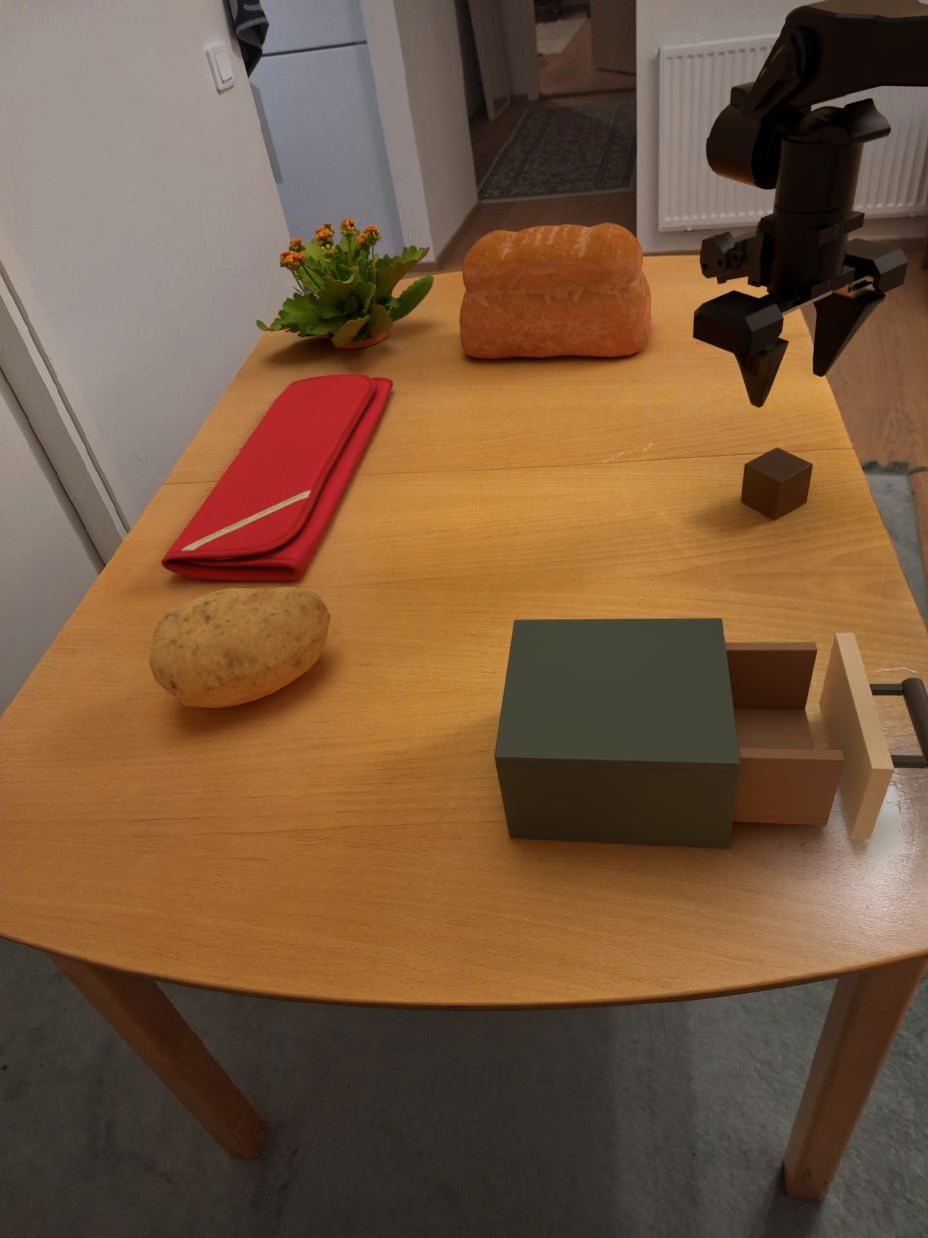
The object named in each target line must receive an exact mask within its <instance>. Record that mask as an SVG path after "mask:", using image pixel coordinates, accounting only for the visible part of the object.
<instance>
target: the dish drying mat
mask: <svg viewBox="0 0 928 1238" xmlns="http://www.w3.org/2000/svg"><path fill="white" fill-rule="evenodd" d="M393 388H394V382H393V379H391V378H388V377H383V376H381V377H380V376H378V377H377V376H375V377H371V376H369V375H366V374H363V373H338V374H336V373H335V374H326V375H318V376H313V377H308V378H303V379H300V380H296V381H293V382H291V383H290V384H288V385H287V386H286V387H285V388H284V389H283V391H282V392H281V393H280V394H279V395H278V396H277V397H276V398H275V399H274V401H273V402H272V403H271V405H270V407H269V408H268V409H267V411H266V413H265V414H264V416H263V417H262V418H261V420H260V421H259V423H258V424H257V426H256V427H255V428H254V430H253V431H252V433H250V435H249V437H248V438H247V440H246V441H245V443H244V444H243V445H242V447H241V448H240V450H239V452H238V453H237V455H236V456H235V457H234V459H233V460H232V462H231V463H230V464H229V466H228V467H227V468H226V470H225V471H224V473H223V475H221V477H220V479H219V480H218V481H217V483H216V484H215V486H214V487H213V488H212V490H211V491H210V493H209V494H208V495H207V497H206V498H205V500H204V501H203V503H202V504H201V505H200V507H199V508H198V509H197V511H196V512H195V513H194V515H193V516H192V518H191V519H190V520H189V522H188V523H187V524H186V526H185V527H184V529H183V530H182V531H181V532H180V534H179V536H178V537H177V538H176V540H175V541H174V542H173V543H172V545H171V547H170V548H169V549H168V550H167V552H166V554H165V555H164V556H163V558H162V559H161V560H160V564H161V565H162V567H163V568H165V569H166V570H168V571H170V572H172V573H173V574H178V575H182V576H183V577H184V576H185V577H189V578H193V579H200V580H208V581H209V580H210V581H243V582H244V581H250V582H251V581H253V582H254V581H255V582H256V581H259V582H260V581H261V582H263V581H264V582H288V583H289V582H296V581H298V580H299V579H300V578H301V576H302V575H303V573H304V572H305V570H306V568H307V566H308V564H309V563H310V560H311V558H312V556H313V555H314V553H315V552H316V550H317V548H318V545H319V544H320V542H321V540H322V539H323V536H325V533H326V531H327V529H328V527H329V525H330V523H331V522H332V519H333V517H334V515H335V513H336V511H337V509H338V507H339V505H340V503H341V501H342V499H343V497H344V495H345V493H346V490H347V489H348V486H349V484H350V482H351V479H352V477H353V475H354V473H355V472H356V469H357V467H358V466H359V463H360V462H361V460H362V457H363V455H364V453H365V451H366V449H367V447H368V445H369V443H370V441H371V439H372V436H373V435H374V432H375V430H376V427H377V426H378V423H379V422H380V420H381V417H382V416H383V413H384V410H385V407H386V405H387V402H388V399H389V397H390V394H391V392H392V389H393Z"/></svg>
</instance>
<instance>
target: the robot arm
mask: <svg viewBox="0 0 928 1238" xmlns="http://www.w3.org/2000/svg"><path fill="white" fill-rule="evenodd" d="M880 87H903V88H904V87H909V88H911V87H912V88H913V87H914V88H928V3H923V2H921V1H920V0H821V1H816V2H812V3H809V4H804V5H800V6H797V7H794V8H793V9H792V10H791V11H789V13H787V14H786V17H785V19H784V24H783V25H782V27H781V29H780V32H779V36H778V37H777V39H776V40H775V42H774V44H773V46H772V47H771V50H770V52H769V54H768V55H767V57H766V59H765V61H764V63H763V65H762V67H761V69H760V71H759V73H758V74H757V77H756V79H755V80H754V81H750V82H746V83H742V84H738V85H733V86H732V87H731V89H730V96H729V103H728V104H727V106H725V107H724V108H723V109H722V110H721V112H719V114H718V116H717V117H716V118H715V120H714V122H713V124H712V126H711V128H710V132H709V135H708V137H707V138H706V142H705V156H706V157H705V158H706V161H707V165H708V166H709V168H710V169H711V171H712V172H713V173H714V174H716V175H717V176H720V177H723V178H725V179H728V180H732V181H735V182H738V183H742V184H745V185H749V186H750V187H755V188H757V189H762V190H765V191H768V190H769V191H772V190H775V192H774V201H773V207H772V208H773V210H772V213H769V214H767V215H765V216H762V217H760V220H759V221H758V223H757V224H756V229H754V230H751V231H748V232H745V233H742V234H739V235H737V236H733V235H732V232H730V231H725V232H722V233H720V234H719V233H716V234H714V235H711V236H708V237H706V238H703V239H702V240H701V246H700V252H699V265H700V270H701V275H702V276H704V278H705V279H707V280H708V279H712V278H716V284H717V285H723V284H726V283H727V282H728V281H732V280H736V279H737V280H738V279H744V278H747V283H746V284H747V285H748V286H751V287H755V288H761V287H764V288H766V294H765V295H763V296H760V297H757V296H755V295H751V294H747V293H744V292H741V291H738V290H735V289H734V290H731V291H729V292H726V293H724V294H721V295H719V296H716V297H714V298H712V299H709V300H707V301H705V302H703V303H701V304H700V305H699V306H698V307H697V308H696V309H695V310H694V311H693V324H692V325H693V326H692V338H693V339H694V340H695V339H696V340H697V341H700V342H704V343H706V344H708V345H710V346H713V347H715V348H718V349H720V350H722V351H723V350H724V351H726V352H727V353H731V354H733V355H734V357H735V360H736V362H737V364H738V367H739V371H740V374H741V377H742V380H743V383H744V386H745V390H746V393H747V396H748V400H749V403H750V404H751V406H753V407H756V408H759V409H760V408H762V407H763V406H764V405H765V404H766V401H767V399H768V397H769V395H770V392H771V390H772V388H773V385H774V383H775V379H776V377H777V374H778V371H779V369H780V366H781V364H782V361H783V359H784V356H785V354H786V351H787V348H788V346H789V344H790V341H789V340H787V339H784V338H781V337H780V335H782V333H783V329H784V321H785V318H784V316H786V315H789V314H790V313H793V312H795V311H797V310H799V309H802V308H804V307H806V306H808V305H810V304H813V307H814V309H815V312H816V316H815V326H814V327H815V328H814V336H813V337H814V339H813V349H812V374H813V375H814V376H817V377H819V378H823V377H825V376H827V374H828V373H829V371H830V369H831V368H832V367H833V365H834V364H835V363H836V361H837V360H838V358H839V357H840V356H841V354H842V353H843V351H844V350H845V349H846V347H847V346H848V344H849V343H850V342H851V341H852V339H853V338H854V337H855V335H856V333H858V331H859V330H860V328H861V327H862V326H863V325H864V324H865V322H866V321H867V320H868V319H869V317H870V316H871V315H872V313H873V312H874V311H875V309H876V308H877V307H878V306H879V305H880V304H881V303H883V302H884V301H885V300H886V298H887V297H886V296H887V294H886V293H888V292H890V291H892V290H895V289H897V288H899V287H901V286H903V285H904V283H905V280H906V274H907V269H908V266H909V261H908V259H907V256H906V255H905V253H904V251H903V249H902V248H901V247H898V246H893V245H889V244H884V243H879V242H876V241H872V240H867V239H862V238H858V237H855V238H852V239H851V240H850V239H849V237H850V233H852V232H854V231H857V230H860V229H861V228H863V227H864V223H865V222H864V221H865V215H866V213H865V212H862V211H857V210H854V205H855V199H856V194H857V188H858V183H859V177H860V170H861V166H862V165H861V164H862V163H861V162H862V159H863V152H864V147H865V143H870V142H873V141H876V140H880V139H883V138H886V137H889V136H890V134H891V132H892V126H891V124H890V123H889V121H888V119H887V118H886V116H885V115H883V114H882V113H881V112H880V111H879V109H878V108H877V106H876V104H875V101H874V99H873V98H872V97H868V98H864V99H861V100H857V101H853V102H850V103H847V104H845V105H844V106H843V107H840V106H833V105H824V106H820V107H817V108H815V109H812V106H815V105H818V104H819V105H820V104H822V103H826V102H830V101H833V100H837V99H840V98H844V97H846V96H848V95H852V94H855V93H860V92H863V91H867V90H871V89H876V88H880ZM872 278H873V279H872Z"/></svg>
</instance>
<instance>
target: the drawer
mask: <svg viewBox="0 0 928 1238" xmlns="http://www.w3.org/2000/svg"><path fill="white" fill-rule="evenodd" d="M725 645H726V653H727V661H728V668H729V676H730V684H731V692H732V699H733V707H734V715H735V723H736V730H737V738H738V746H739V754H740V761H741V766H740V774H739V781H738V788H737V795H736V803H735V810H734V817H733V823H734V822H735V823H736V822H737V823H757V824H758V823H759V824H760V823H761V824H783V825H784V824H785V825H787V824H788V825H805V826H806V825H808V826H809V825H810V826H827V825H828V822H829V819H830V816H831V815H830V814H831V810H832V809H833V803H834V800H835V797H836V793H837V789H838V791H839V795H840V800H841V805H842V809H843V814H844V818H845V821H846V826H847V830H848V835H849V838H850V839H852V840H853V839H855V840H856V839H857V840H871V838H872V836H873V833H874V830H875V827H876V824H877V821H878V818H879V815H880V812H881V810H882V807H883V804H884V800H885V797H886V796H887V792H888V789H889V786H890V783H891V780H892V778H893V775H894V772H895V769H918V770H919V769H921V770H922V769H924V770H925V769H927V770H928V691H927V688H926V686H925V684H924V681H923V680H922V679H921V678H919V677H908V678H905V679H904V680H902V681H901V682H900V683H870V682H869V679H868V676H867V673H866V668H865V665H864V662H863V658H862V656H861V652H860V649H859V646H858V641H857V638H856V635H855V633H854V632H835V633H834V636H833V641H832V646H831V650H830V654H829V659H828V663H827V667H826V672H825V676H824V680H823V685H822V690H821V694H820V698H819V703H818V704H819V709H820V714H821V717H822V722H823V727H824V731H825V736H826V739H827V743H828V748H829V749H815V748H814V743H813V739H812V734H811V733H812V732H811V729H810V724H809V720H808V715H807V711H806V707H807V704H808V697H809V693H810V689H811V683H812V679H813V673H814V669H815V664H816V659H817V655H818V646H817V643H816V642H814V641H813V642H811V641H803V642H802V641H793V642H792V641H791V642H790V641H783V642H781V641H779V642H778V641H777V642H776V641H775V642H774V641H772V642H770V641H769V642H767V641H765V642H764V641H763V642H761V641H759V642H758V641H756V642H755V641H753V642H751V641H749V642H746V641H745V642H744V641H743V642H740V641H739V642H738V641H737V642H734V641H733V642H731V641H730V642H729V641H728V642H726V641H725ZM874 696H882V697H884V696H885V697H887V696H888V697H890V696H891V697H892V696H893V697H901V696H902V697H903V701H904V703H905V706H906V709H907V713H908V715H909V719H910V721H911V724H912V728H913V730H914V733H915V736H916V739H917V742H918V745H919V748H920V751H921V754H922V755H912V754H911V755H910V754H907V755H906V754H891V753H890V749H889V746H888V742H887V739H886V736H885V732H884V729H883V727H882V722H881V718H880V716H879V712H878V710H877V706H876V702H875V700H874V699H875V698H874Z"/></svg>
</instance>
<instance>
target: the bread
mask: <svg viewBox="0 0 928 1238" xmlns="http://www.w3.org/2000/svg"><path fill="white" fill-rule="evenodd" d="M643 264H644V254H643V247H642V245H641V243H640V241H639V239H638V238H637V237H636V236H635V235H634V234H633V233H632V232H631V231H630V230H629V229H628V228H626V227H624V226H622V225H620V224H616V223H613V222H602V223H600V224H597V225H593V226H585V225H580V224H569V223H564V224H560V225H537V226H532V227H528V228H524V229H521V230H519V231H510V230H505V229H498V230H497V229H496V230H494V231H490V232H489V233H487V234H484V236H482V237H480V238H479V239H478V240H477V241H476V242H475V243H474V244H473V245H472V246H471V247H470V249H469V250H468V252H467V254H466V256H465V257H464V259H463V264H462V282H463V285H464V289H465V291H464V294H463V298H462V301H461V304H460V309H459V319H458V324H459V339H460V343H461V347H462V349H463V350H464V352H465V354H466V355H467V356H469V357H471V358H473V359H485V360H489V359H490V360H500V359H501V360H503V359H509V358H537V359H538V358H540V359H541V358H542V359H543V358H554V357H563V356H564V357H565V356H576V357H577V356H578V357H606V358H607V357H608V358H613V357H622V356H630V355H633V354H636V353H638V352H640V351H642V350H643V349H644V347H645V345H646V344H647V341H648V338H649V333H650V328H651V323H652V296H651V295H652V294H651V287H650V285H649V282H648V280H647V277H646V275H645V274H644V271H643V270H642V267H643Z"/></svg>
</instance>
